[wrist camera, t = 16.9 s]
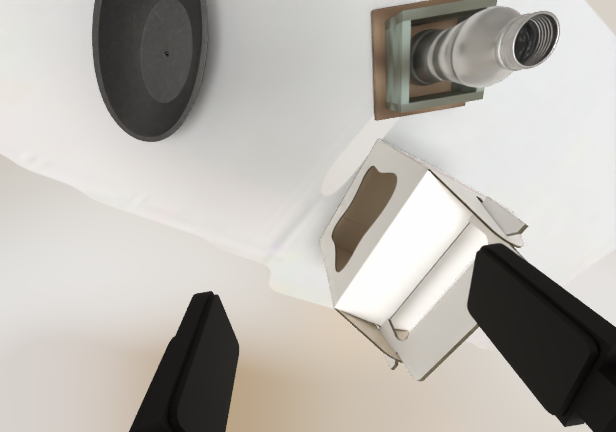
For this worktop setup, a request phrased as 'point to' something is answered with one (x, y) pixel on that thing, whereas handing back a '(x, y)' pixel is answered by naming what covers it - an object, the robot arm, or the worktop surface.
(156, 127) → the bowl
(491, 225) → the gable box
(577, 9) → the worktop surface
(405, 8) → the bottle holder
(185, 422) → the robot arm
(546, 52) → the silver bottle
